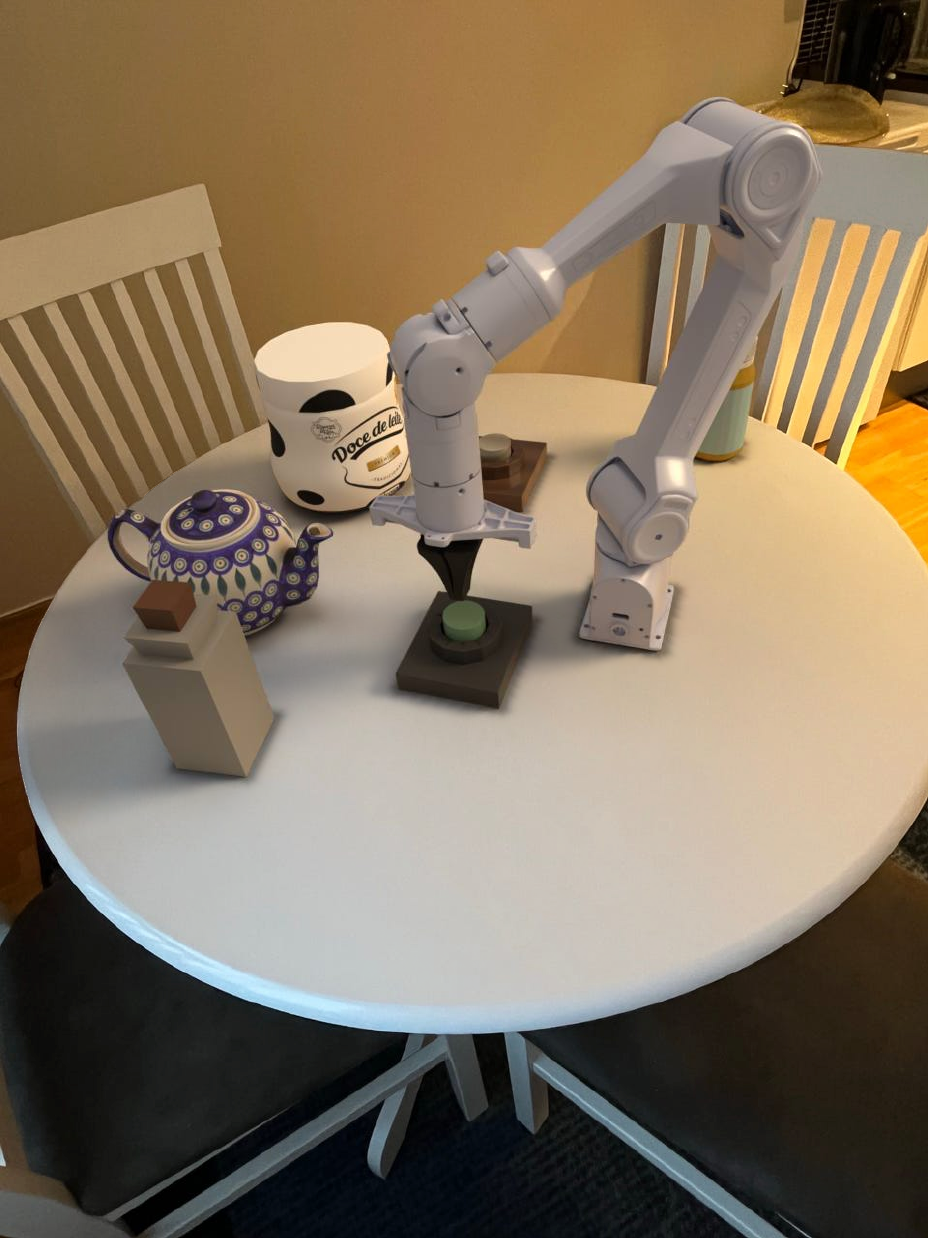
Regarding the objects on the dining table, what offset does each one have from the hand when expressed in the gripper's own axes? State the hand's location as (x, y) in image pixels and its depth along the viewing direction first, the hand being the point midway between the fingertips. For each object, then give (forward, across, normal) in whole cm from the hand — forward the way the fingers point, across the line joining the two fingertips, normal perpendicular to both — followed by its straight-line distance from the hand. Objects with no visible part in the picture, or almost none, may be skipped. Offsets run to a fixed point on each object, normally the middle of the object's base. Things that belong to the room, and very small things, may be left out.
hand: (459, 593), depth 77 cm
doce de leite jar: (+8, -24, +24) cm, 35 cm away
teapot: (+8, -26, 0) cm, 27 cm away
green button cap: (+4, 0, 0) cm, 4 cm away
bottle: (+8, +18, +42) cm, 47 cm away
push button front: (+8, 0, 0) cm, 8 cm away
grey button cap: (+4, -6, +30) cm, 31 cm away
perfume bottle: (+8, -17, -17) cm, 25 cm away
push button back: (+8, -6, +30) cm, 31 cm away
